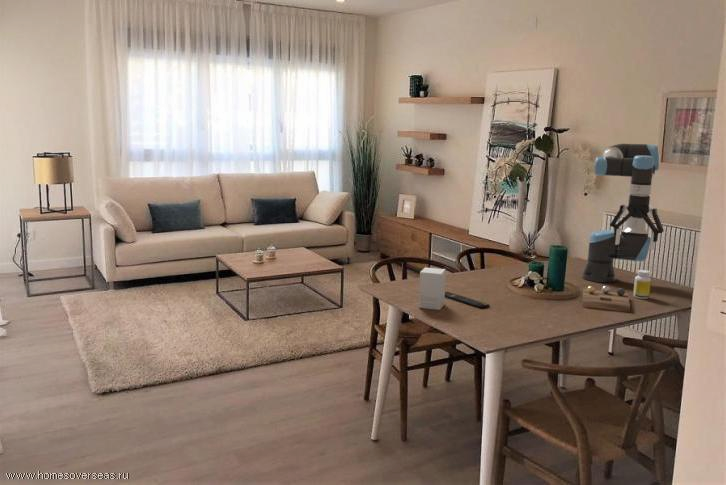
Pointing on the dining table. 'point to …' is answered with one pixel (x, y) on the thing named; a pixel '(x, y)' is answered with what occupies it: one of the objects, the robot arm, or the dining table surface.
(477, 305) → the remote control
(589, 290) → the brass ball
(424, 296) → the supplement box
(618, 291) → the rubber ball
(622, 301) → the board
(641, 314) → the dining table surface
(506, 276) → the dining table surface
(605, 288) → the steel ball
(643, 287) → the pill bottle
